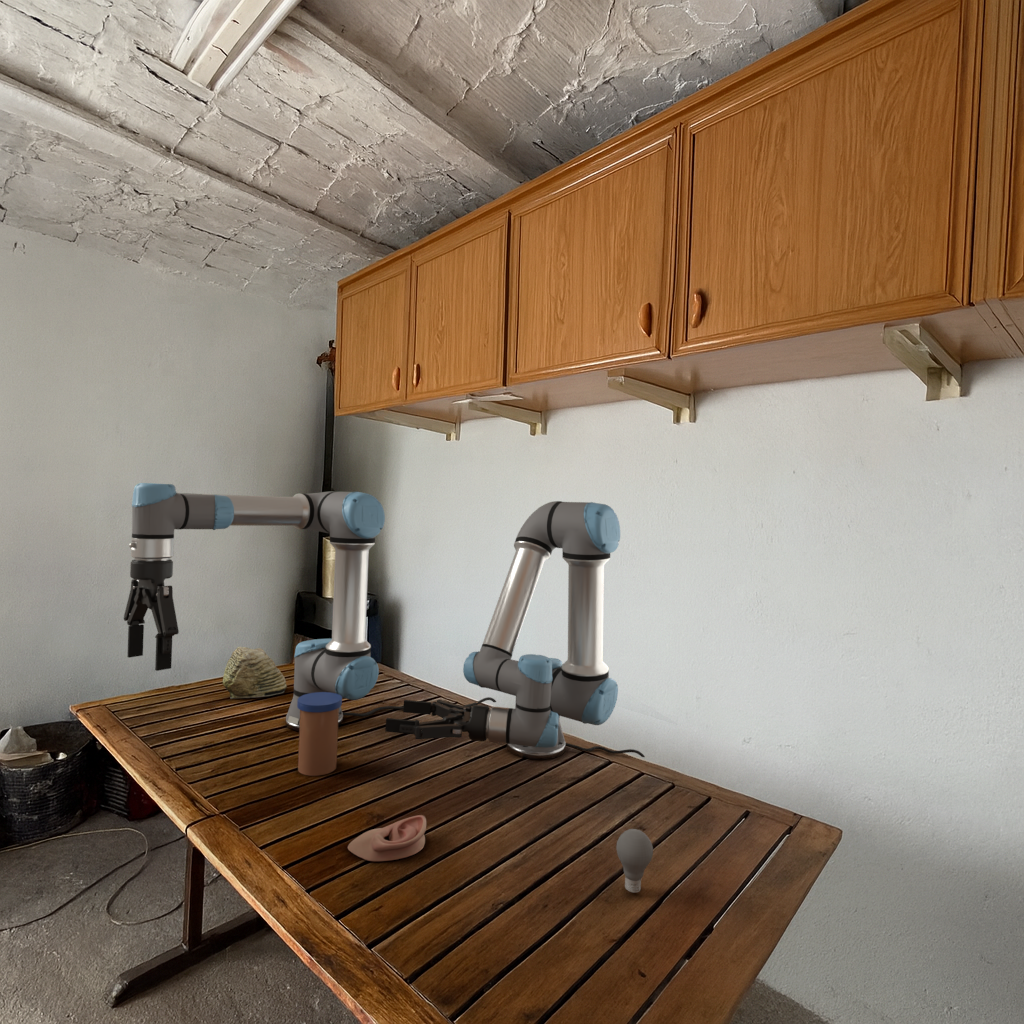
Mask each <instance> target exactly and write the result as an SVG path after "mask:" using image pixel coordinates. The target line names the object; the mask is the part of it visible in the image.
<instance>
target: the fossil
mask: <svg viewBox="0 0 1024 1024" xmlns="http://www.w3.org/2000/svg"><path fill="white" fill-rule="evenodd" d="M222 676H223V677H222V685H223V687H224V688H225V690H226V691H228V693H229V698H230V699H250V698H264V697H271V696H275V695H281V694H284V693H285V691H286V689H287V687H288V686H287V680H286V678H285V676H284V674H283V673H282V672H281V669H279V668H278V667H277V665H276V663H275V662H274V660H273V659H272V658H271V657H270V656H269V655H268V654H267V653H266V652H265V650H264V649H263V648H260V647H258V648H251V647H247V646H246V647H245V646H238V647H237V648H236V649H235V650H233V651H232V653H231V656H230V657H229V659H228V660H227V663H226V666H225V668H224V671H223V675H222Z"/></svg>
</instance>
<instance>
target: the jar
mask: <svg viewBox="0 0 1024 1024" xmlns="http://www.w3.org/2000/svg"><path fill="white" fill-rule="evenodd" d="M338 719H339V708H338V709H335V710H332V711H327V712H306V711H302V710H300V724H299V731H298V751H297V752H298V753H297V754H298V755H297V771H298V773H300V774H301V775H303V776H311V777H317V776H318V777H319V776H324V775H328V774H330V773H332V772H334V771H335V770H336V769H337V768H338V767H337V766H338V745H339V743H338V742H339V741H338V740H339V726H338Z"/></svg>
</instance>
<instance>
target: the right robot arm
mask: <svg viewBox="0 0 1024 1024" xmlns="http://www.w3.org/2000/svg"><path fill="white" fill-rule="evenodd" d="M620 541H621V526H620V521H619V517H618V515H617V513H616V512H615V511H614V509H613V508H612V507H611V506H610V505H608V504H605V503H600V502H599V503H597V502H594V501H593V502H592V501H591V502H587V501H585V502H584V501H583V502H582V501H562V500H561V501H560V500H555V501H554V500H553V501H549V502H547V503H545V504H543V505H541V506H539V507H538V508H536V510H534V511H533V512H532V513H531V514H530V515H529V516H528V518H527V519H526V520H525V521H524V523H523V525H522V526H521V527H520V529H519V531H518V533H517V535H516V538H515V541H514V543H513V548H514V550H515V553H514V555H513V558H512V561H511V563H510V567H509V569H508V572H507V574H506V576H505V577H506V578H505V580H504V583H503V586H502V588H501V591H500V595H499V597H498V600H497V602H496V606H495V608H494V611H493V614H492V616H491V619H490V621H489V624H488V628H487V630H486V634H485V636H484V639H483V641H482V644H481V647H480V650H478V651H471V653H469V654H468V656H467V657H466V658H465V660H464V663H463V667H462V672H463V676H464V678H465V680H466V681H467V682H468V683H470V684H473V685H476V686H478V687H480V688H482V689H488V690H493V691H496V692H501V693H504V694H507V695H510V696H513V697H515V705H514V706H515V708H512V707H505V706H494V705H493V706H492V707H491V708H490V707H489V706H488V705H480V704H478V705H474V706H472V707H466V706H464V705H461V704H457V703H453V702H451V701H446V700H442V699H436V701H422V700H410V699H404V700H403V706H402V707H403V710H402V712H403V713H406V714H417V715H427V716H428V715H429V716H432V717H435V716H437V717H440V718H441V719H434V720H427V721H421V722H420V720H419V719H415V720H413V719H402V718H392V717H386V719H385V728H384V729H385V730H384V732H385V733H396V734H403V735H404V734H406V735H414V736H415V737H414V739H415V740H429V739H430V740H431V739H446V738H456V739H460V738H462V737H463V733H467V734H468V739H469V740H471V741H475V742H484V743H485V742H486V741H487V740H488V742H489V743H495V744H496V743H497V744H498V745H499V746H502V745H503V744H505V745H506V749H507V750H508V751H509V752H510V753H511V754H514V755H515V756H517V757H520V758H524V759H530V760H551V759H555V758H558V757H560V756H562V755H563V754H564V753H565V752H566V747H569V748H573V749H577V750H578V751H579V750H580V751H582V752H593V751H595V750H601V751H603V752H606V753H608V754H613V755H620V754H626V753H633V754H634V753H635V754H636V755H639V756H640V757H641V758H646V756H645V755H644V754H643V753H642V752H641V751H639V750H638V749H633V748H631V749H622V750H611V749H609V748H606V747H604V746H601V745H599V746H598V745H595V746H592V747H590V748H586V747H582V746H580V745H576V744H572V743H568V742H566V739H565V736H564V732H563V727H562V724H561V721H560V719H561V718H560V717H562V718H566V719H569V720H572V721H577V722H580V723H582V724H585V725H587V724H588V725H592V726H601V725H603V724H605V723H606V722H607V721H608V720H609V718H610V717H611V716H612V714H613V712H614V710H615V707H616V704H617V701H618V695H619V686H618V684H617V681H616V680H615V679H614V678H612V677H610V675H609V674H610V668H609V666H608V665H607V664H606V662H604V660H603V659H604V597H605V596H604V595H605V594H604V588H605V587H604V586H605V585H604V584H605V564H607V563H608V561H610V560H611V554H613V553H614V552H616V551H617V549H618V548H619V546H620V545H619V542H620ZM556 548H557V549H562V553H561V554H562V555H561V556H562V559H563V560H564V561H565V562H566V563H567V564H568V565H567V566H568V571H567V572H568V573H567V574H568V579H567V580H568V581H567V582H568V583H567V584H568V587H567V589H568V590H567V591H568V593H567V601H568V602H567V660H566V661H564V663H563V661H562V659H559V658H556V657H548V656H546V655H542V654H536V653H535V654H534V653H528V654H527V653H525V654H523V655H521V656H519V658H518V660H516V659H512V657H513V654H514V651H515V648H516V645H517V642H518V640H519V636H520V634H521V631H522V628H523V625H524V622H525V619H526V616H527V614H528V610H529V608H530V605H531V601H532V598H533V595H534V593H535V590H536V586H537V584H538V581H539V578H540V576H541V572H542V569H543V567H544V563H545V561H547V560H549V559H550V558H551V556H552V553H553V551H554V550H555V549H556Z"/></svg>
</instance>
